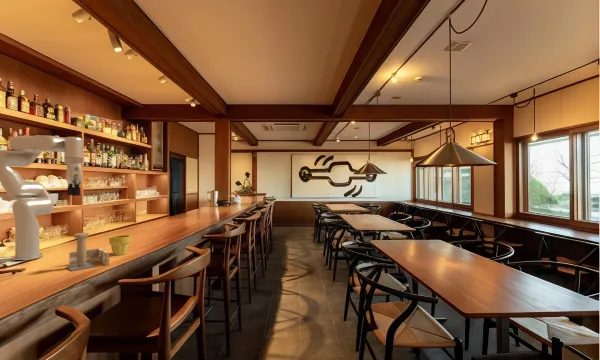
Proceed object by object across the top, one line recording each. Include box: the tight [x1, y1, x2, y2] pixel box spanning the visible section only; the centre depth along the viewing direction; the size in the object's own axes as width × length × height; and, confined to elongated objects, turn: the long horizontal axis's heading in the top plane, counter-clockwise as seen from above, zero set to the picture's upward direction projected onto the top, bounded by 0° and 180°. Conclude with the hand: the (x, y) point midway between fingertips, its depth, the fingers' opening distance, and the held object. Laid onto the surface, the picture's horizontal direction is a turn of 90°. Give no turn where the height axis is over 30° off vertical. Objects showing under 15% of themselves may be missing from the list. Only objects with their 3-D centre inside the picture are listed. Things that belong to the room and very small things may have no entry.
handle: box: [73, 232, 90, 266], centre depth 145 cm, size 5×6×15 cm
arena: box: [68, 247, 110, 267], centre depth 148 cm, size 15×13×6 cm
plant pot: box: [108, 234, 132, 256], centre depth 171 cm, size 10×10×10 cm
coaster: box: [66, 261, 98, 272], centre depth 145 cm, size 10×10×1 cm
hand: (73, 195), depth 156 cm, fingers open, 9 cm apart
